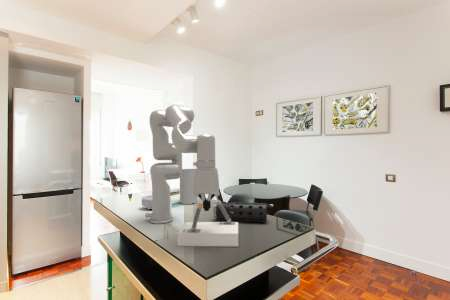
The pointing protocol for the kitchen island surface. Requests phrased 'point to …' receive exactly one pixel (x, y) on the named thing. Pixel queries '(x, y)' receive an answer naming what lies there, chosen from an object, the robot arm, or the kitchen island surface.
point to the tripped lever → (196, 217)
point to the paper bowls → (147, 202)
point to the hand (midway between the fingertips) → (206, 210)
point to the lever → (224, 211)
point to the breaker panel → (208, 234)
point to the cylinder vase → (187, 187)
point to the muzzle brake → (242, 211)
